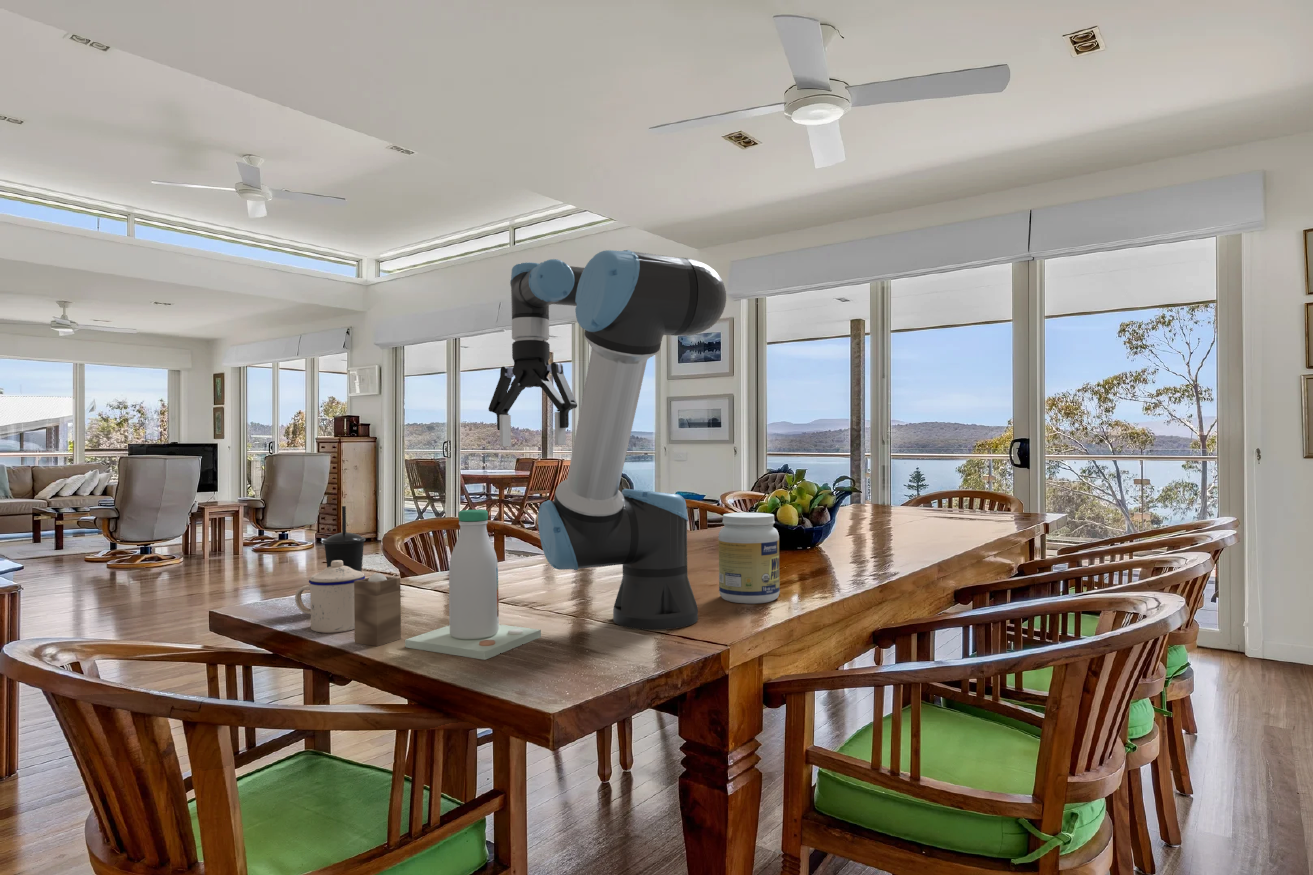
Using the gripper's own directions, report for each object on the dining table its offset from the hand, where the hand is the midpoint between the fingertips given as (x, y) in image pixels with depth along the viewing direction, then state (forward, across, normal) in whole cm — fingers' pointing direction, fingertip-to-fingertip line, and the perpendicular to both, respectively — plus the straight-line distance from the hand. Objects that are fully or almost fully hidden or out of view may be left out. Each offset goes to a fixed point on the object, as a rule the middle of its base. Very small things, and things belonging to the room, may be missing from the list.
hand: (532, 445), depth 152 cm
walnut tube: (+32, +6, +36) cm, 48 cm away
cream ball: (+24, +5, +36) cm, 43 cm away
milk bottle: (+31, -9, +30) cm, 44 cm away
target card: (+32, -10, +30) cm, 44 cm away
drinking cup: (+31, +29, +21) cm, 48 cm away
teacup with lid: (+32, +20, +32) cm, 50 cm away
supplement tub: (+32, -39, -19) cm, 54 cm away
